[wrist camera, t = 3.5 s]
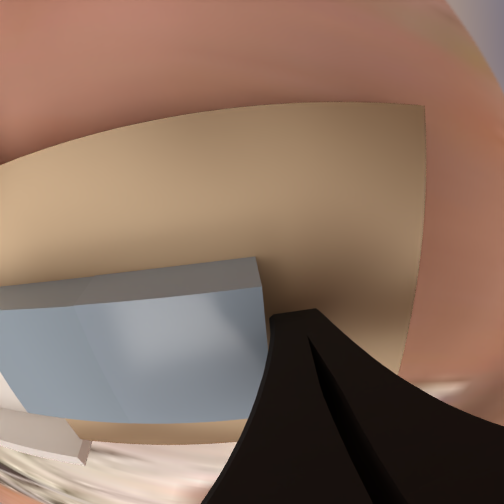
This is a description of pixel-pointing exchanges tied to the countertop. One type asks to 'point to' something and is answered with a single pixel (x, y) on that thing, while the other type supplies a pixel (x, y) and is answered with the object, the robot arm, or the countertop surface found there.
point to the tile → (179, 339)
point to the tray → (38, 432)
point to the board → (235, 218)
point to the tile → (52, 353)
